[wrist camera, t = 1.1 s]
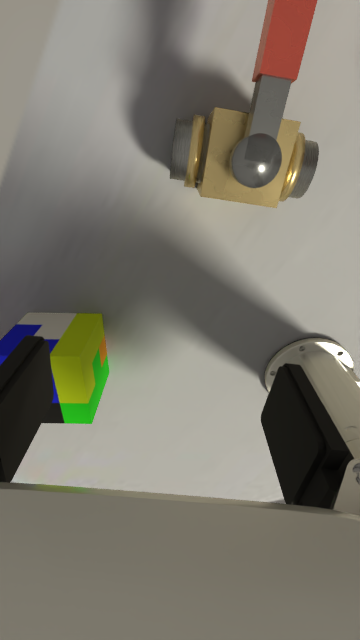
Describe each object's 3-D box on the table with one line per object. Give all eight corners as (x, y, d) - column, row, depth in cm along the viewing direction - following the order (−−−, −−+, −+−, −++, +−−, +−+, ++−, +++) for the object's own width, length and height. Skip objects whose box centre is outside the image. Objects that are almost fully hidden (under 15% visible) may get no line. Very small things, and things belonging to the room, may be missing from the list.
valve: (305, 133, 30) (344, 126, 23) (285, 202, 33) (313, 215, 26) (178, 112, 29) (177, 97, 22) (170, 184, 33) (166, 192, 25)
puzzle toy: (28, 312, 40) (-15, 355, 32) (101, 313, 40) (79, 356, 32) (43, 370, 45) (9, 422, 36) (109, 371, 45) (91, 423, 36)
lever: (328, -51, 19) (348, -79, 16) (266, 188, 25) (274, 191, 23) (272, -63, 18) (284, -93, 16) (224, 182, 25) (228, 184, 23)
